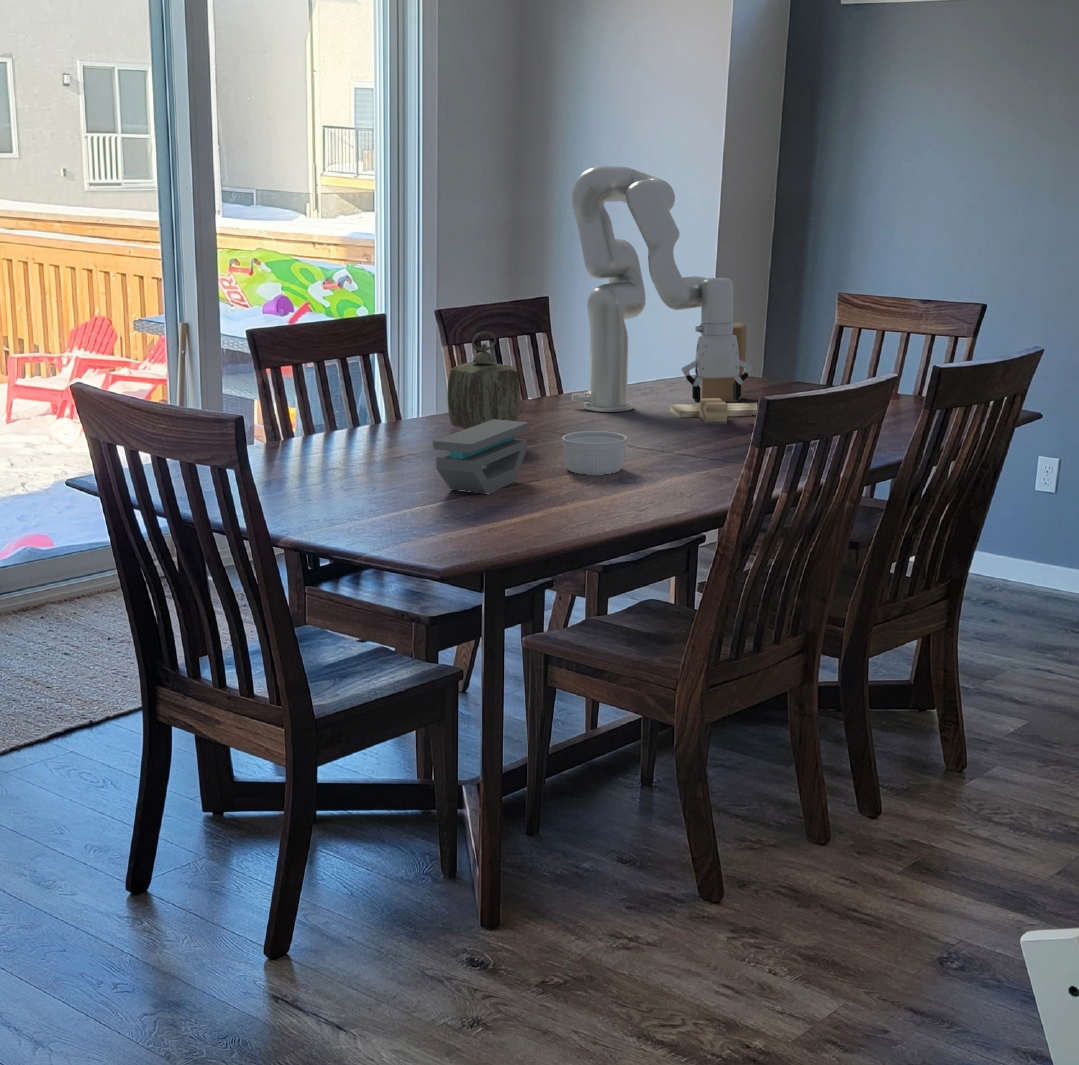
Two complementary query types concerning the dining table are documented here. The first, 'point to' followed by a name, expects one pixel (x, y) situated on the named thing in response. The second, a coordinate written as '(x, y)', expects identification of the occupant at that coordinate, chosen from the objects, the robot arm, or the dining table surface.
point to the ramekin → (594, 452)
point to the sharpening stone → (482, 456)
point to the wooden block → (725, 385)
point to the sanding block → (713, 411)
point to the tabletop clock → (483, 390)
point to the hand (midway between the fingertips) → (716, 401)
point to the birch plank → (732, 409)
